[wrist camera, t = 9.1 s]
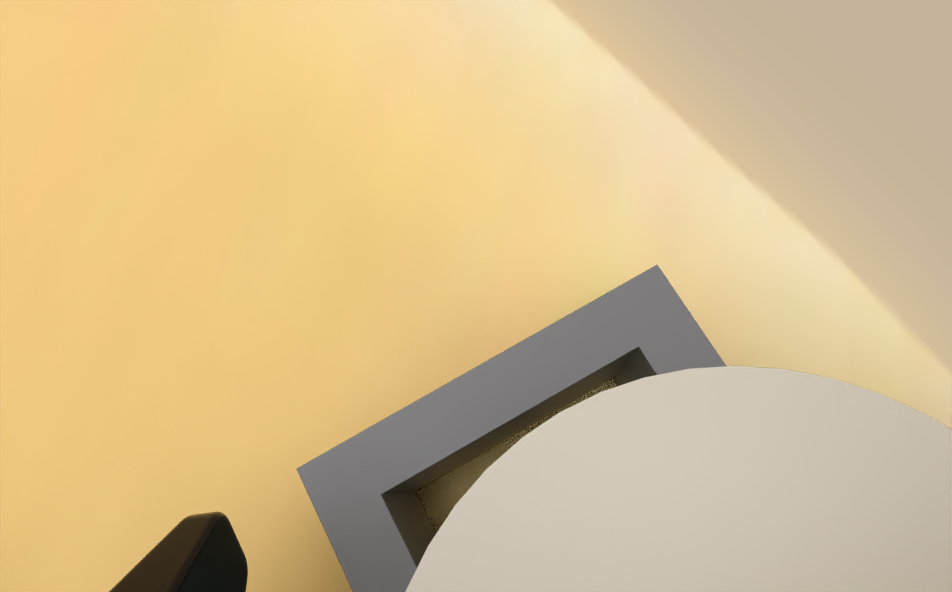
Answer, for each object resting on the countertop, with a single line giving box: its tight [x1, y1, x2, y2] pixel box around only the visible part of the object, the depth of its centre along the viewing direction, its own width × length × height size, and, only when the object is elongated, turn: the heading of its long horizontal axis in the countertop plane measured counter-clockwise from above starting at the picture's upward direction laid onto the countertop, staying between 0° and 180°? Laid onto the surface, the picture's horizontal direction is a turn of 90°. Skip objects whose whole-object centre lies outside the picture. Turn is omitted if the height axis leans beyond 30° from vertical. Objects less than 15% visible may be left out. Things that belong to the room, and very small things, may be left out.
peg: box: [406, 366, 952, 592], centre depth 10 cm, size 4×4×13 cm
